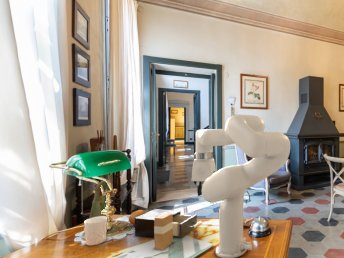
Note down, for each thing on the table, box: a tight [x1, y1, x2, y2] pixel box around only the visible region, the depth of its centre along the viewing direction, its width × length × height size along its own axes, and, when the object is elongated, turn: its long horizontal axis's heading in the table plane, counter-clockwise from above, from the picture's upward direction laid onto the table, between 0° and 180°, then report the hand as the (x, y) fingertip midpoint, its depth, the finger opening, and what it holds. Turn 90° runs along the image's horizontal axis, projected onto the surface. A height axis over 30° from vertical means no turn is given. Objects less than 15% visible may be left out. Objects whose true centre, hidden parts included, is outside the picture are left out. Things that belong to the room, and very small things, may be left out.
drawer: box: [173, 214, 203, 239], centre depth 111 cm, size 18×12×6 cm, turn 78°
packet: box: [153, 213, 174, 251], centre depth 100 cm, size 4×6×13 cm
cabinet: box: [134, 208, 182, 239], centre depth 114 cm, size 15×13×8 cm
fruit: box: [128, 209, 147, 226], centre depth 123 cm, size 8×8×8 cm
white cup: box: [83, 216, 108, 246], centre depth 103 cm, size 8×8×10 cm
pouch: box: [88, 178, 108, 222], centre depth 115 cm, size 11×12×25 cm
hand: (204, 195), depth 109 cm, fingers open, 3 cm apart
